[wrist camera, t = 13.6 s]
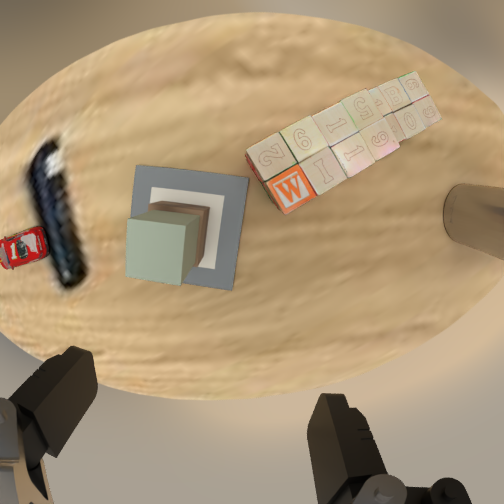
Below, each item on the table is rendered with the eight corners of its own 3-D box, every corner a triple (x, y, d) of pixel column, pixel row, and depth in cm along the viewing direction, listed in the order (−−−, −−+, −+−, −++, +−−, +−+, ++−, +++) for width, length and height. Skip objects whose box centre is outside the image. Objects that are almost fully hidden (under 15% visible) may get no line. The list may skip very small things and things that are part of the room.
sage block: (200, 215, 29) (185, 226, 22) (194, 262, 30) (180, 285, 23) (153, 209, 29) (127, 218, 22) (150, 255, 30) (125, 276, 23)
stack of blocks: (382, 90, 31) (431, 62, 19) (404, 130, 32) (460, 116, 21) (245, 160, 34) (243, 149, 22) (271, 204, 35) (284, 216, 23)
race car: (8, 268, 37) (-6, 275, 33) (0, 238, 35) (-14, 243, 31) (54, 257, 36) (39, 264, 32) (46, 222, 35) (30, 227, 31)
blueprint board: (248, 178, 34) (249, 177, 28) (232, 287, 37) (229, 307, 31) (138, 165, 33) (119, 163, 27) (130, 271, 36) (112, 286, 31)
